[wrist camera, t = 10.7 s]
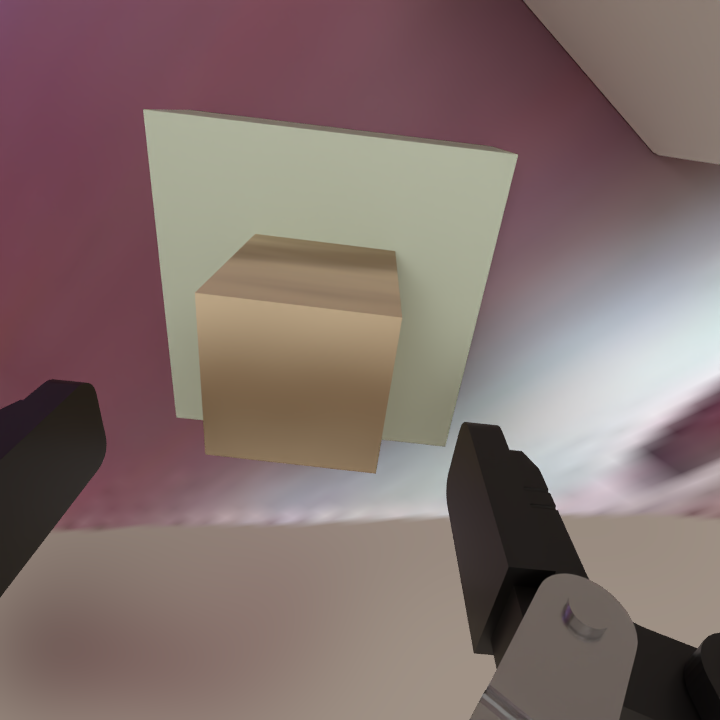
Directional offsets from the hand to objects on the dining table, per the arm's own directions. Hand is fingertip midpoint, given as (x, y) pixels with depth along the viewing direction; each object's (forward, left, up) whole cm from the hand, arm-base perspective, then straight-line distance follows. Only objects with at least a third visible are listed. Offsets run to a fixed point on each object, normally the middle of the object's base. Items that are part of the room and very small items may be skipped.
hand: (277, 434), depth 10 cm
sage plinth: (0, 0, -12) cm, 12 cm away
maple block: (0, 0, -8) cm, 8 cm away
